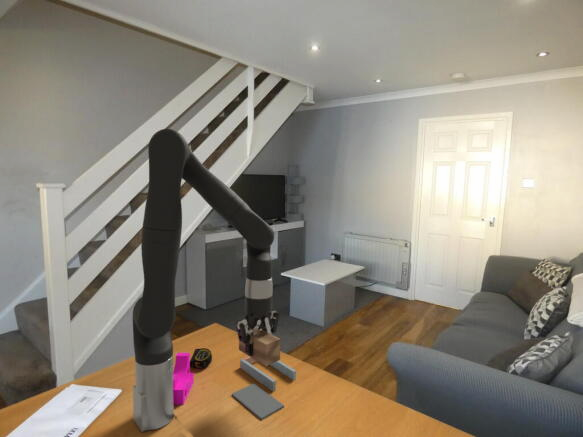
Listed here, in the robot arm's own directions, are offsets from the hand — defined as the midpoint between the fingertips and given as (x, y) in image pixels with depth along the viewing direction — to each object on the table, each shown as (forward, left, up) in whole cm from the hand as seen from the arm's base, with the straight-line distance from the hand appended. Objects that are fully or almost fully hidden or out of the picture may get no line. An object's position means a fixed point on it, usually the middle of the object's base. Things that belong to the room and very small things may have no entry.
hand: (257, 351), depth 96 cm
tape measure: (-3, +31, -15) cm, 34 cm away
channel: (+11, +9, -15) cm, 21 cm away
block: (0, -1, -1) cm, 1 cm away
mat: (0, 0, -15) cm, 15 cm away
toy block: (-14, +20, -15) cm, 29 cm away
